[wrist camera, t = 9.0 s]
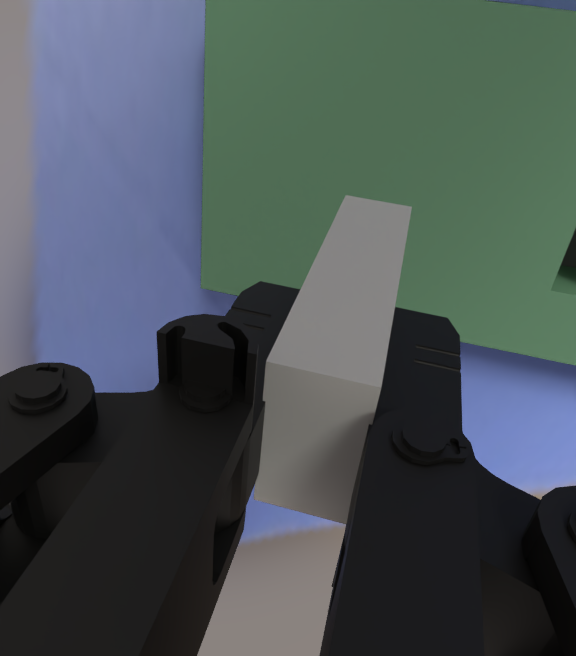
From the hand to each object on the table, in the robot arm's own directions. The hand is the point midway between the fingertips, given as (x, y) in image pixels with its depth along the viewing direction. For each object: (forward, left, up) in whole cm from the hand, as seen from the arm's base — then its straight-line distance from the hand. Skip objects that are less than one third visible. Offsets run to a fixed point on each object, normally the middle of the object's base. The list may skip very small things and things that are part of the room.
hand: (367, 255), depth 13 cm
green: (+1, +4, -11) cm, 12 cm away
